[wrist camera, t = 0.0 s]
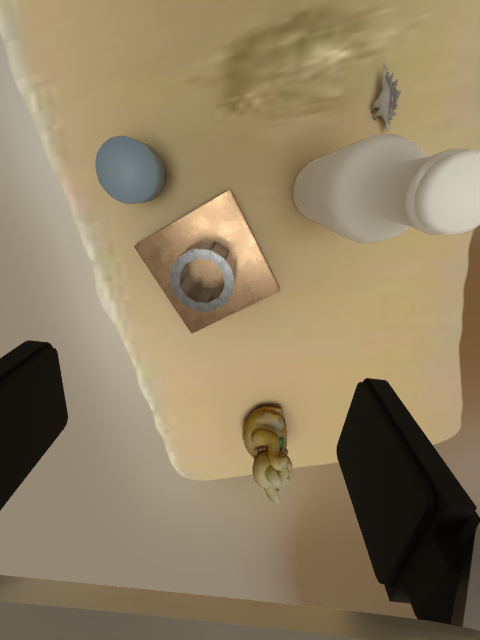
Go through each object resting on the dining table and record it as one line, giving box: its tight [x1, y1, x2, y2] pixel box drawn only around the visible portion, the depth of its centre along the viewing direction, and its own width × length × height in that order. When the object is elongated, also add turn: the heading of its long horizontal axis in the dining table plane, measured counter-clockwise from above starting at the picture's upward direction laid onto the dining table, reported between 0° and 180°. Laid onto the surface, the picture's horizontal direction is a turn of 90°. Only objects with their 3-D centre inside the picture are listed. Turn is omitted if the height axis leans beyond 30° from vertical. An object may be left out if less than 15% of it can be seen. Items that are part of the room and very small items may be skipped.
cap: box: [96, 136, 166, 204], centre depth 37 cm, size 7×7×8 cm
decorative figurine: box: [242, 406, 292, 505], centre depth 51 cm, size 10×8×15 cm
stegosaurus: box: [371, 61, 401, 132], centre depth 34 cm, size 2×7×5 cm, turn 16°
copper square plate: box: [134, 190, 280, 333], centre depth 42 cm, size 16×16×8 cm
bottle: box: [293, 134, 480, 243], centre depth 27 cm, size 8×8×30 cm
